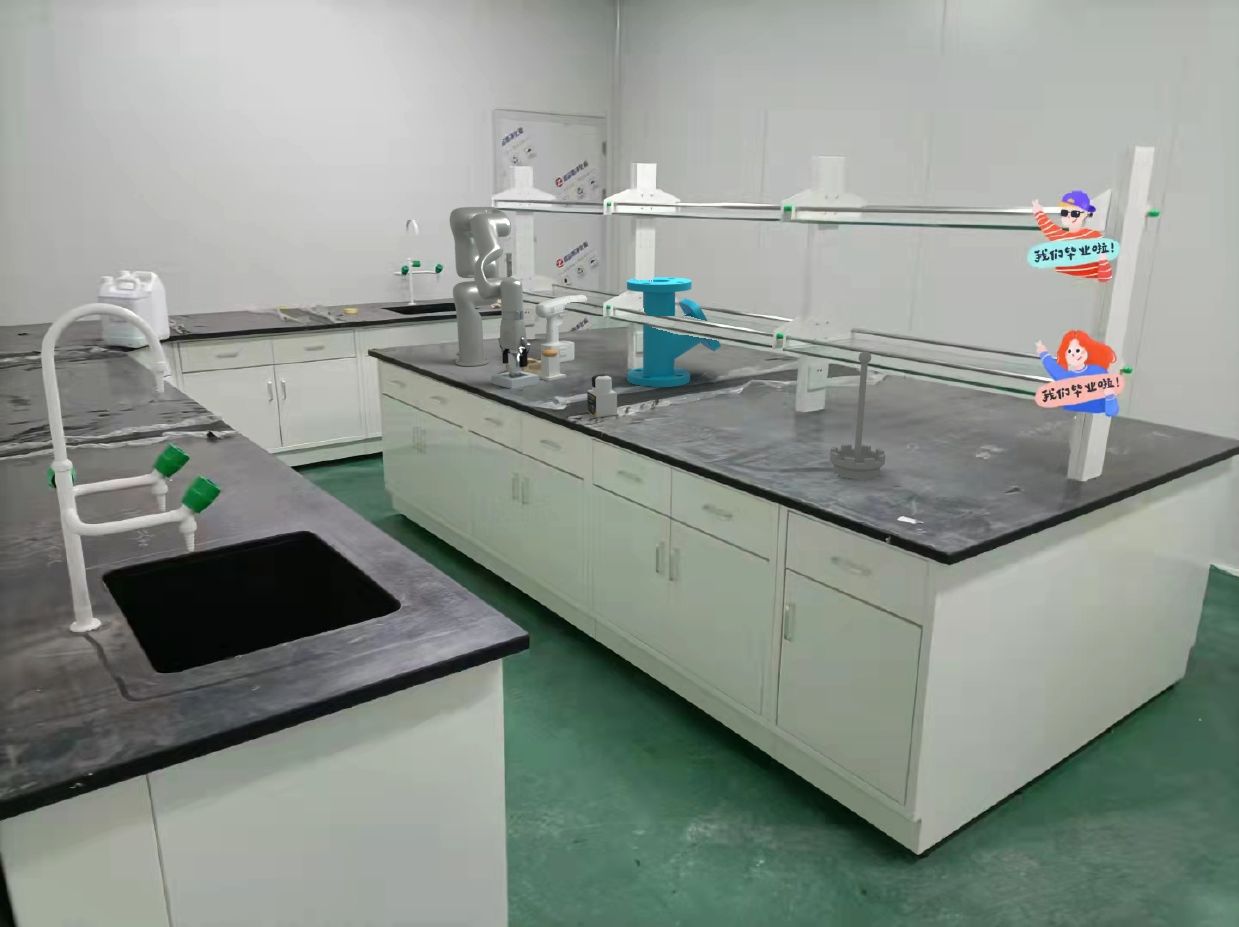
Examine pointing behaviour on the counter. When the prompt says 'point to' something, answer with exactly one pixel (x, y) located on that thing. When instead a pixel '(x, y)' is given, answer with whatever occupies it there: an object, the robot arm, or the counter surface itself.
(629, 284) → the pipe fitting
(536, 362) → the rack
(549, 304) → the power drill
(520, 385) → the socket block
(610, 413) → the medicine bottle
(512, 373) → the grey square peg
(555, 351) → the release plunger
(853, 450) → the flag stand
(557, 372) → the post
